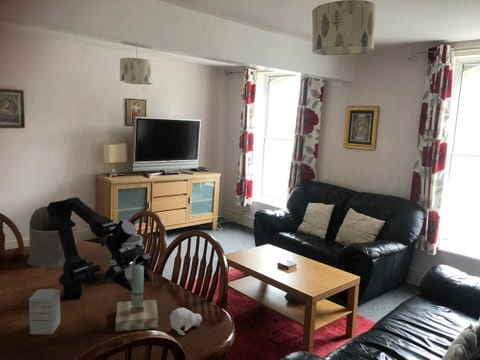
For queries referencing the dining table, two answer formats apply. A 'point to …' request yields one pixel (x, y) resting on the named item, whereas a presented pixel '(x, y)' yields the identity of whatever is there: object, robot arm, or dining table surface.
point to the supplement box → (44, 311)
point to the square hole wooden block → (136, 316)
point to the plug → (137, 285)
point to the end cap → (92, 272)
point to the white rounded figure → (184, 319)
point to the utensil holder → (131, 243)
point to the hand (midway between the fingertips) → (140, 285)
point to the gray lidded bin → (46, 240)
